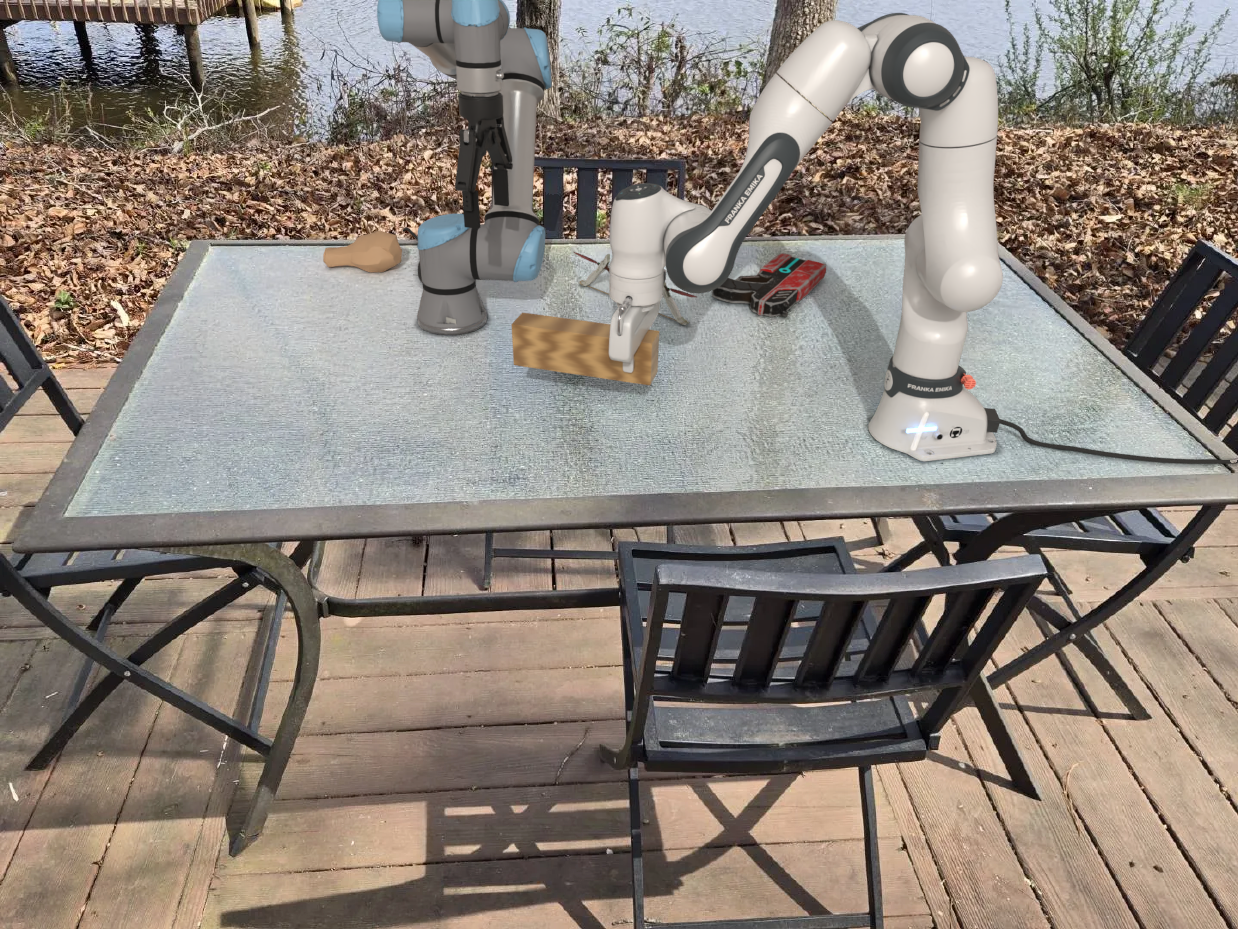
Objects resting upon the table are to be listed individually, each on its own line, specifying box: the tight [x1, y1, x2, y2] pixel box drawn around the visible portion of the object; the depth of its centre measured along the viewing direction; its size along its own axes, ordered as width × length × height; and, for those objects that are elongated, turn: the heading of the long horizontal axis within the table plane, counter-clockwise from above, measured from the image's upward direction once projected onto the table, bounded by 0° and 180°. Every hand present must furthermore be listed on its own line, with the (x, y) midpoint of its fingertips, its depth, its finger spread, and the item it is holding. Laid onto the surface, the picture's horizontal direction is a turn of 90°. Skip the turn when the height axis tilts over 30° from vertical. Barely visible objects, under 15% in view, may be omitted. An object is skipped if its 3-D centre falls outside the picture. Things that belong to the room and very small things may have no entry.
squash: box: [322, 230, 403, 273], centre depth 220 cm, size 11×20×9 cm, turn 90°
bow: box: [573, 251, 698, 326], centre depth 205 cm, size 39×2×10 cm, turn 47°
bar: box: [511, 312, 660, 386], centre depth 152 cm, size 25×5×8 cm, turn 74°
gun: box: [711, 252, 827, 318], centre depth 215 cm, size 4×31×19 cm
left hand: (487, 215), depth 160 cm, fingers open, 13 cm apart
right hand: (634, 361), depth 151 cm, fingers closed on bar, 5 cm apart
